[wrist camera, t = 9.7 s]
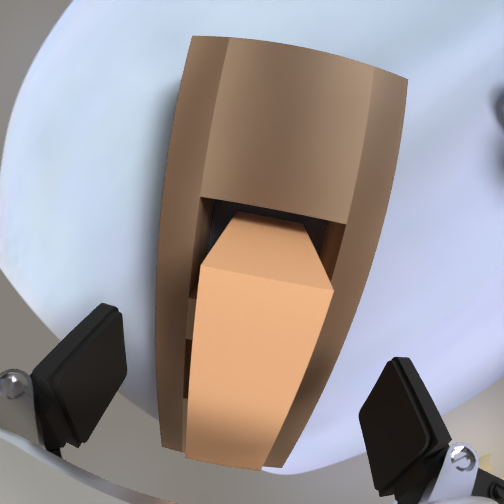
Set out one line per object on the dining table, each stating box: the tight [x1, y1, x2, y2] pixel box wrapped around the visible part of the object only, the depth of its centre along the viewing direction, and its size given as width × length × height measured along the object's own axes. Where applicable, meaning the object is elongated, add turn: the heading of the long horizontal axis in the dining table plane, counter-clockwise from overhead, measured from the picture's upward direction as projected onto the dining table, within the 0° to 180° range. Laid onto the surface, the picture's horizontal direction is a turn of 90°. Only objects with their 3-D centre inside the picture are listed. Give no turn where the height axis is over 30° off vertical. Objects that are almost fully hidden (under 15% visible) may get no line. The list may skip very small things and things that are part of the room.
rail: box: [155, 36, 408, 468], centre depth 13 cm, size 8×22×3 cm, turn 170°
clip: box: [186, 211, 334, 471], centre depth 11 cm, size 3×8×7 cm, turn 170°
